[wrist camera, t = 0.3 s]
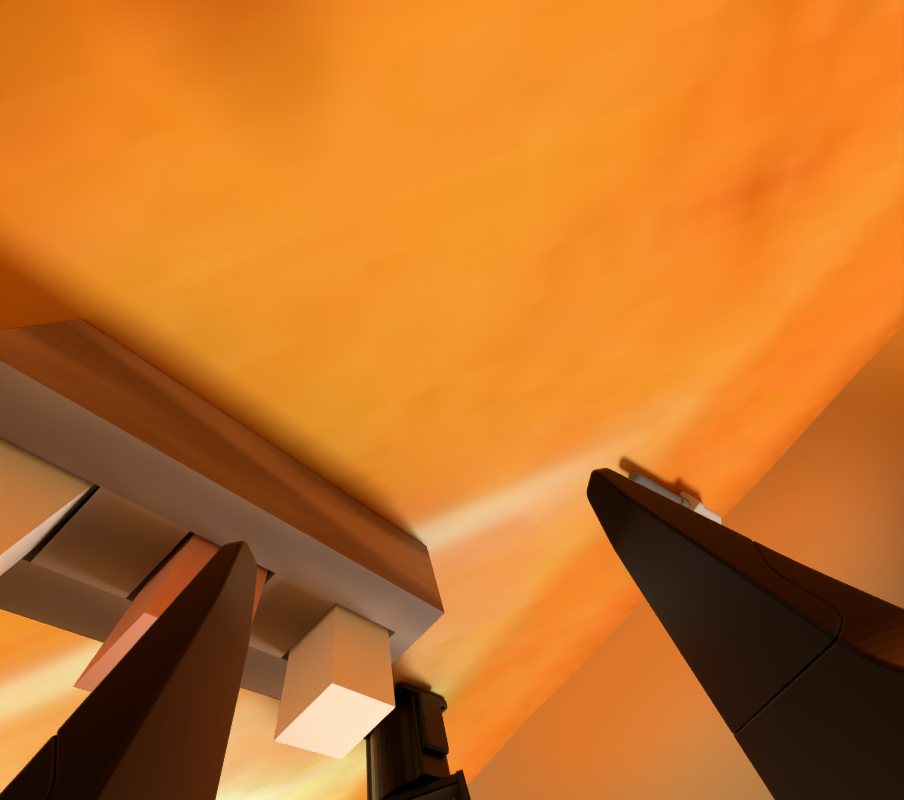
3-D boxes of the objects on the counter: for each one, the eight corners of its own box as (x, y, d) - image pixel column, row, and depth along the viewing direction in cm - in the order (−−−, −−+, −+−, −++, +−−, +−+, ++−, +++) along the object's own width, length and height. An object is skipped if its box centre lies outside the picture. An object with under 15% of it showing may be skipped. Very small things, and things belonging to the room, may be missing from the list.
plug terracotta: (226, 598, 20) (179, 715, 14) (156, 568, 18) (73, 686, 13) (274, 550, 19) (243, 650, 14) (207, 515, 18) (144, 612, 13)
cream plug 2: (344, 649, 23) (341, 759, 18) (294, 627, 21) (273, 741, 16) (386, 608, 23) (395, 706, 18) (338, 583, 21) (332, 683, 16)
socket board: (340, 632, 28) (336, 718, 22) (-44, 458, 18) (-221, 536, 12) (426, 546, 27) (444, 612, 22) (82, 319, 17) (-44, 335, 12)
